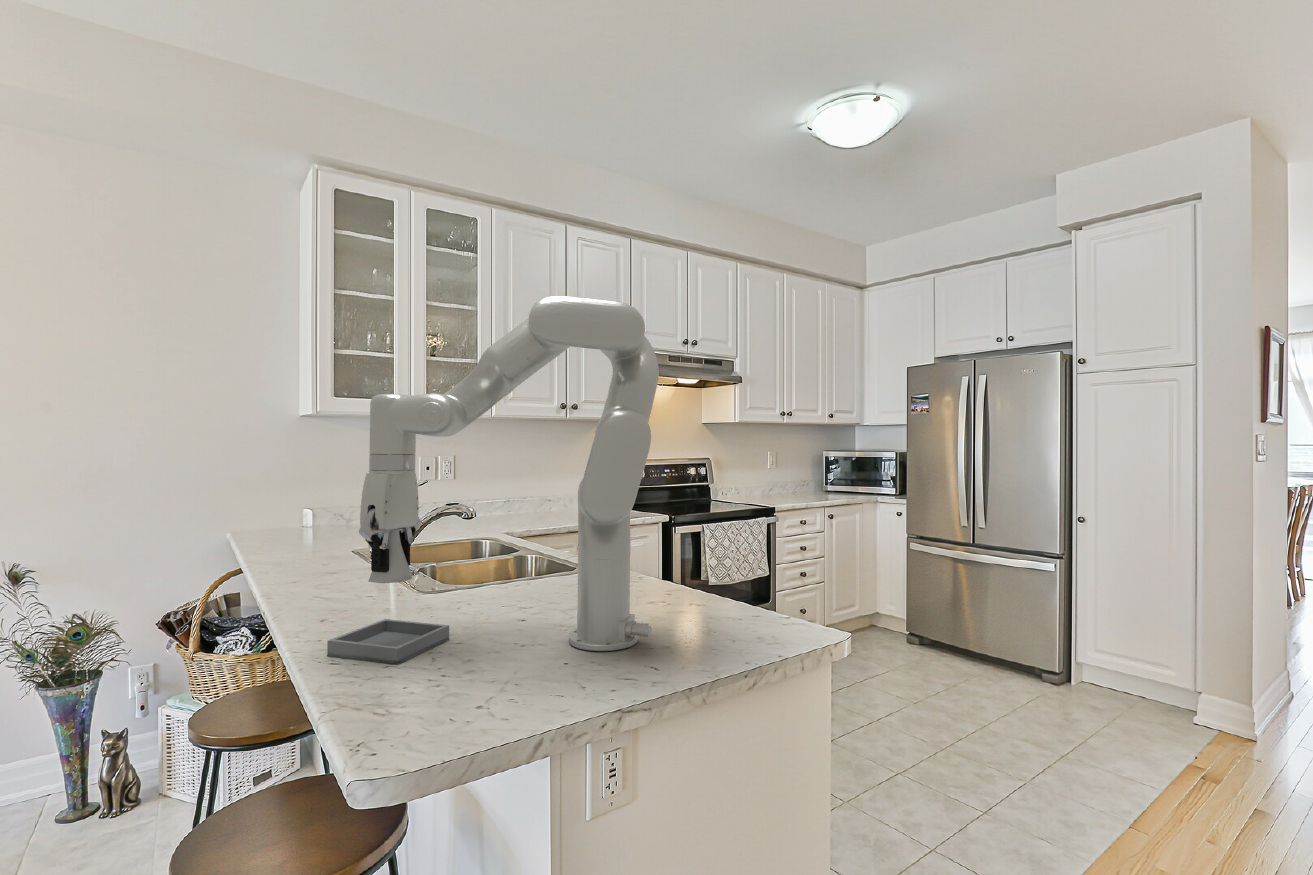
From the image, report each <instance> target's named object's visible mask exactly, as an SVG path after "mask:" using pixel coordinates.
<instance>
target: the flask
mask: <svg viewBox="0 0 1313 875" xmlns="http://www.w3.org/2000/svg"><path fill="white" fill-rule="evenodd" d="M386 549H389V571H388V572H385V573H384V572H373V571H372V570H371V574H370V576H369V579H368V583H376V584H394V583H402V582H405V581H409V580H412V578H413V574H412V571H411V569H410V566H409V565H408V563H407V560H406V557H405V554H404V551H403V548H402V545H401V541H400V535H399V529H398V530H392V531H389V537H388V542H387V547H386Z"/></svg>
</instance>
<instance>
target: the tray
mask: <svg viewBox="0 0 1313 875" xmlns="http://www.w3.org/2000/svg"><path fill="white" fill-rule="evenodd" d="M447 641H450V625H448V624H437V623H428V622H421V621H419V622H418V621H409V620H401V619H389V618H383V619H381V620H378V621H376V622H373V623H371V624H368V625H366V626H363V627H360V628H357V629H355V630H352V631H350V632H347V633H345V634H341V635H338V636H336V637H334V638H331V639H328V640H327V642H326V643H327V644H326V645H327V652H326V653H327V655H326V656H327V657H332V658H340V659H348V660H349V659H350V660H356V661H357V660H358V661H365V662H371V663H378V664H379V663H381V664H389V665H396V666H398V665H400V664H402V663H405V662H406V661H408V660H410V659H412V658H415V657H416V656H418V655H420V654H423V653H425V652H427V651H429V650H431V649H433V648H435V647H437V646H439V645H441V644H444V643H445V642H447Z"/></svg>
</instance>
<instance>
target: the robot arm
mask: <svg viewBox="0 0 1313 875" xmlns="http://www.w3.org/2000/svg"><path fill="white" fill-rule="evenodd" d="M528 313H529V314H528V318H526V319H525V320H524V321H522V322H521V323H519V325H517V326H515V327H514V328H513V329H511V330H510V331H509V332H507V333H506V334H505V335H502V337H500V338H499V339H498V340H496V341H495V342H494V343H492V344H491V345H489V346H488V347H487V348H486V349H485V350H484V352H483V353H482V354H481V356H480V358H479V360H478V362H477V363H476V365H475V367H474V368H473V370H471V371H470V373H468V375H466V376H465V377H464V378H463V379H462V380H461V381H459V382H458V383H456V384H455V385H454V386H453V387H451V388H450V389H448V390H447V391H446V392H444V393H443V394H442V393H435V392H434V393H433V392H432V393H431V392H430V393H423V394H414V395H413V394H412V395H408V394H402V393H401V394H398V393H382V394H381V393H380V394H376V395H374V396H372V398H371V399H370V404H369V455H368V456H369V457H368V458H369V459H368V460H369V462H368V463H369V464H368V465H369V466H368V468H369V470H368V472H367V473H365V474H366V475H365V477H364V480H363V486H362V491H361V500H360V512H359V515H360V516H359V524H360V525H359V526H360V528H359V529H358V534H359V535H360V536H361V537H362V538H363V539H364V540H365V542H366V543H367V544H368V548H369V549H371V552H370V553H371V557H370V558H371V560H370V562H371V563H370V564H371V565H370V570H371V572H372V571H373V572H384V573H385V572H388V571H389V549H386V547H387V542H388V537H389V531H392V530H398V529H399V535H400V541H401V545H402V548H403V551H404V554H405V557H406V560H407V563H408V565H409V567H410V565H411V544H412V543H413V540H414V539H413V537H414V536H415V535H416V534H415V533H416V531H417V529H418V528H419V527H420V525H421V523H422V521H421V519H420V516H419V512H420V511H419V507H420V506H419V505H420V504H419V489H418V479H417V472H416V447H417V446H416V444H417V443H416V442H417V440H416V439H417V435H421V436H422V435H423V436H428V437H440V438H441V437H452V436H454V435H456V434H458V433H459V432H461V431H463V430H464V429H465V428H467V427H468V426H469V425H471V424H472V423H474V422H475V421H476V420H478V419H479V418H480V417H482V416H483V415H484V414H485V413H487V412H488V411H489V410H490V409H492V408H493V407H495V405H496V404H498V403H499V402H500V401H501V400H502V399H504V398H505V397H507V396H508V395H509V394H511V393H512V392H513V391H514V390H516V388H518V387H519V386H520V385H521V384H522V383H524V382H526V380H528V379H530V378H531V377H532V376H533V375H534V374H536V373H537V372H538V371H539V370H541V369H542V368H543V367H545V366H546V365H547V364H549V363H551V362H552V361H553V360H555V359H556V358H557V357H558V356H560V355H562V353H564V352H565V351H567V350H568V349H569V348H570V347H573V348H579V349H580V348H581V349H590V350H592V349H593V350H600V352H601V353H602V354H603V355H605V356H606V357H607V358H608V360H609V361H610V363H611V366H612V377H611V379H610V384H609V387H608V393H607V397H606V399H605V404H604V407H603V411H602V413H601V416H600V419H599V420H598V422H597V424H596V427H595V431H594V437H593V441H592V444H591V448H590V452H589V455H588V459H587V462H586V466H585V470H584V472H583V473H584V474H583V477H582V479H581V480H580V483H579V486H578V489H577V513H578V514H577V519H578V520H577V524H578V525H577V529H578V531H577V538H578V539H577V605H576V606H577V608H576V609H577V616H576V617H577V619H576V620H577V621H576V622H577V623H576V624H577V626H576V629H574V630H573V631H571V632H570V633H569V634H568V643H569V644H570V645H571V646H572V647H575V648H577V649H580V650H585V651H590V652H591V651H592V652H593V651H595V652H609V651H611V652H612V651H619V650H623V649H627V648H630V647H633V646H635V645H636V643H638V641H639V637H642V638H651V635H652V626H651V625H650V624H649V623H647V622H646V623H645V622H637V620H635V619H636V618H635V614H634V613H630V610H631V608H630V605H631V603H630V602H631V601H630V599H631V598H630V597H631V590H630V589H631V512H632V509H633V508H634V505H635V502H636V498H637V495H638V492H639V489H640V484H641V481H642V478H643V474H644V471H645V467H646V464H647V461H648V457H649V452H650V448H651V441H652V432H651V430H652V429H651V426H650V424H649V421H650V417H651V414H652V410H653V406H654V400H655V397H656V392H657V388H658V383H659V375H660V374H659V373H660V370H659V363H658V358H657V355H656V353H655V350H654V348H653V345H652V343H651V342H650V341H649V340H648V338H647V337H646V336H645V332H646V325H645V320H644V318H643V316H642V314H641V313H640V311H639V310H638V309H637V308H636V307H634V306H632V305H630V304H628V303H625V302H621V301H615V300H604V299H596V298H585V297H577V296H576V297H575V296H566V295H548V296H545V297H542V298H540V299H539V300H536V302H535V303H534V304H533V305H532V307H531V309H530V311H529V312H528ZM378 535H380V537H379V536H378Z"/></svg>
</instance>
